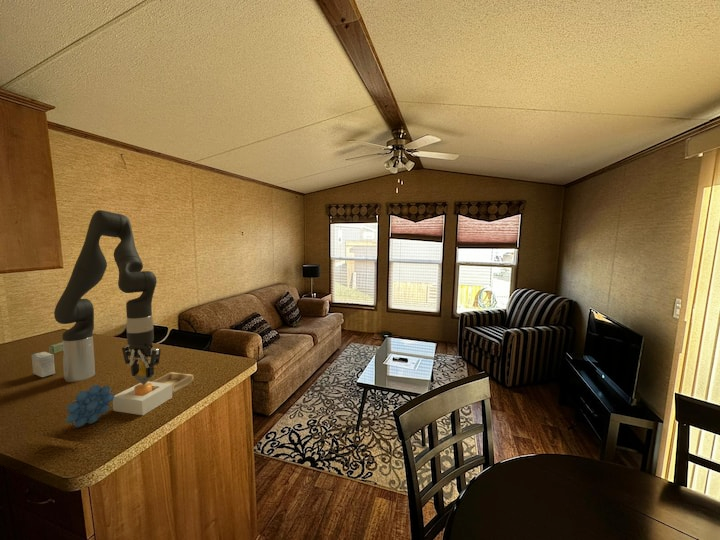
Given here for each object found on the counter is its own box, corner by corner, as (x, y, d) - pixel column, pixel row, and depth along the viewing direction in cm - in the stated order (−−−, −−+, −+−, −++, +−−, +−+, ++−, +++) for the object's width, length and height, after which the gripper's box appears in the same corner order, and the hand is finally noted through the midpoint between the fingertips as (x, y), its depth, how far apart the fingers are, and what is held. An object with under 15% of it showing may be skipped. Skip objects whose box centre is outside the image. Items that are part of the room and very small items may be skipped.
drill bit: (129, 386, 105) (134, 356, 106) (143, 382, 110) (147, 354, 111) (142, 388, 104) (147, 358, 105) (156, 384, 109) (159, 356, 110)
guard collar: (113, 410, 103) (112, 396, 102) (145, 393, 114) (144, 380, 114) (142, 415, 100) (142, 400, 100) (172, 397, 112) (171, 384, 111)
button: (131, 401, 105) (130, 388, 105) (144, 394, 110) (143, 382, 110) (143, 402, 104) (142, 390, 104) (155, 395, 109) (155, 383, 109)
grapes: (110, 410, 103) (108, 376, 102) (117, 417, 99) (115, 381, 98) (63, 427, 93) (60, 389, 92) (69, 435, 89) (66, 396, 88)
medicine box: (55, 373, 130) (54, 354, 129) (41, 377, 126) (39, 357, 125) (46, 370, 133) (45, 351, 132) (32, 374, 129) (30, 354, 128)
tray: (147, 391, 116) (147, 384, 116) (170, 378, 127) (170, 372, 126) (172, 394, 114) (171, 387, 113) (193, 381, 124) (193, 374, 124)
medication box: (52, 354, 152) (52, 346, 151) (48, 353, 152) (48, 345, 152) (79, 346, 164) (79, 338, 163) (75, 345, 164) (75, 338, 164)
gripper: (166, 327, 107) (168, 373, 109) (133, 324, 110) (135, 369, 111) (148, 333, 100) (150, 383, 101) (112, 330, 103) (115, 378, 104)
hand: (142, 375), depth 106 cm, fingers closed on drill bit, 5 cm apart
